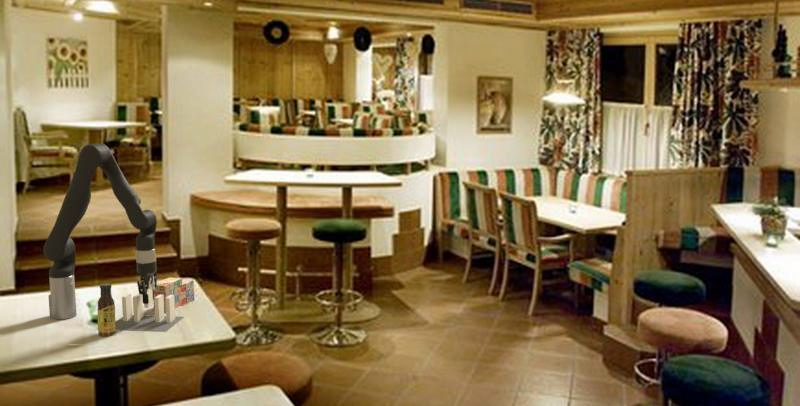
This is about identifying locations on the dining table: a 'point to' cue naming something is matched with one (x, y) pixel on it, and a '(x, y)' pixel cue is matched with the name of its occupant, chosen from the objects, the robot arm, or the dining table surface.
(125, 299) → the domino
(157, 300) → the domino
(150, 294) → the domino
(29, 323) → the dining table surface
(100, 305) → the sauce bottle
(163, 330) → the mat
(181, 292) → the stack of blocks
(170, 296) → the domino
